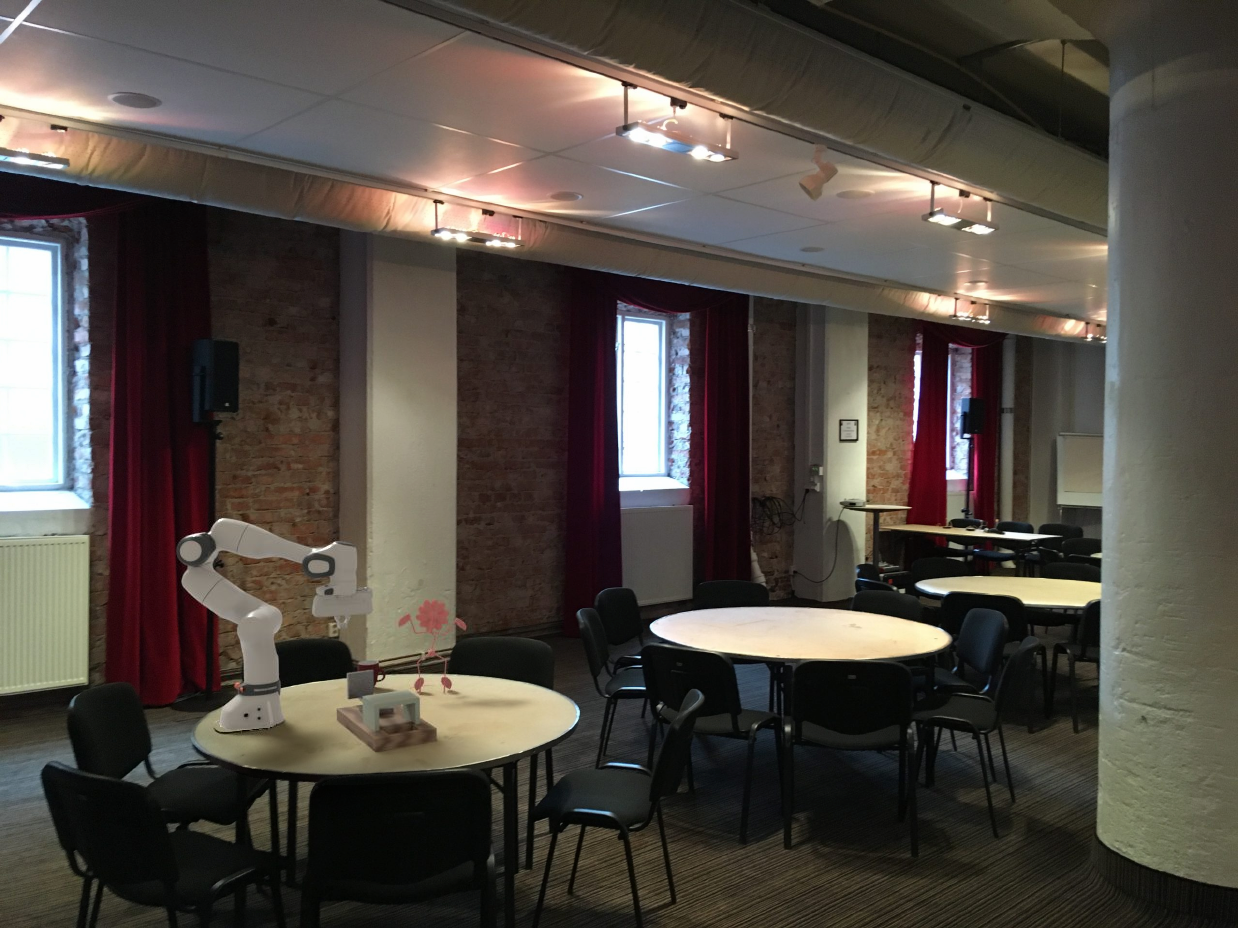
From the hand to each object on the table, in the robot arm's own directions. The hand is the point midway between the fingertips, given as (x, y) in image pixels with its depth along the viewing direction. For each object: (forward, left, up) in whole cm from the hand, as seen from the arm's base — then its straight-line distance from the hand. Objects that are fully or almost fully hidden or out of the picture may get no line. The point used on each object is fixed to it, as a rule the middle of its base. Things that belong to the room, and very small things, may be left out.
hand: (342, 628), depth 334 cm
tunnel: (+7, -29, -27) cm, 40 cm away
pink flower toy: (+40, +18, -31) cm, 54 cm away
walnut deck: (+7, -23, -31) cm, 39 cm away
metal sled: (+7, -7, -27) cm, 29 cm away
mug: (+21, +34, -31) cm, 51 cm away
